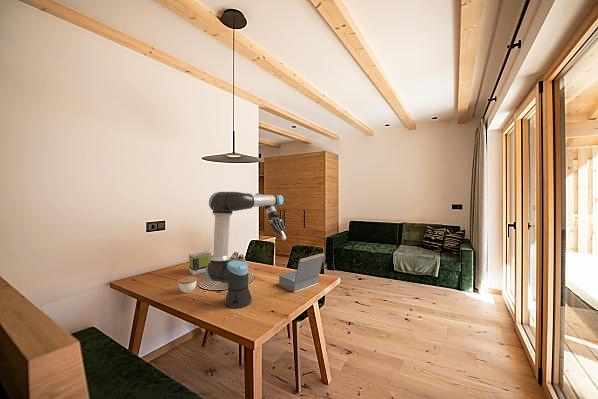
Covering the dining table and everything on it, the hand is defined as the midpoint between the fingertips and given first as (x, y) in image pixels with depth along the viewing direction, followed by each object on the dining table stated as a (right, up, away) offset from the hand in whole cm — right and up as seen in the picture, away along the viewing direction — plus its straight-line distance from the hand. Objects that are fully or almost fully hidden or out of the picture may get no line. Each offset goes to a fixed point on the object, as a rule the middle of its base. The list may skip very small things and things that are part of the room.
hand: (284, 239), depth 181 cm
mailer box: (+10, -30, -8) cm, 33 cm away
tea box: (-69, -30, +22) cm, 79 cm away
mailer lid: (+17, -15, -17) cm, 29 cm away
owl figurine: (-38, -30, +18) cm, 52 cm away
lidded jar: (-62, -31, -17) cm, 72 cm away
